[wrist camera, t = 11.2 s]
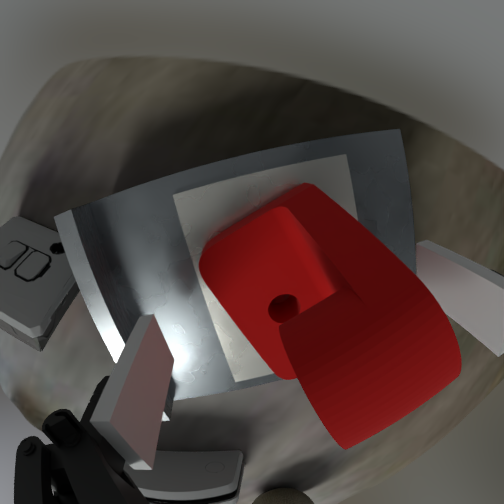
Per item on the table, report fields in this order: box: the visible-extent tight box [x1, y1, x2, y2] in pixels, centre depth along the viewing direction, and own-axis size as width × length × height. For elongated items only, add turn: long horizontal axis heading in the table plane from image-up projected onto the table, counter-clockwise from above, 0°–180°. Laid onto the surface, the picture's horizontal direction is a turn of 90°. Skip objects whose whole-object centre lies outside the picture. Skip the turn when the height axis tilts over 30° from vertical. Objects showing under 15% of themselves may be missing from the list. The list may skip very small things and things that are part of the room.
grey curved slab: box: [123, 450, 245, 504], centre depth 24 cm, size 17×5×10 cm, turn 94°
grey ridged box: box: [54, 129, 416, 421], centre depth 18 cm, size 19×14×8 cm
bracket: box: [199, 182, 461, 450], centre depth 11 cm, size 9×6×10 cm
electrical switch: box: [0, 216, 80, 352], centre depth 16 cm, size 9×5×9 cm, turn 69°
